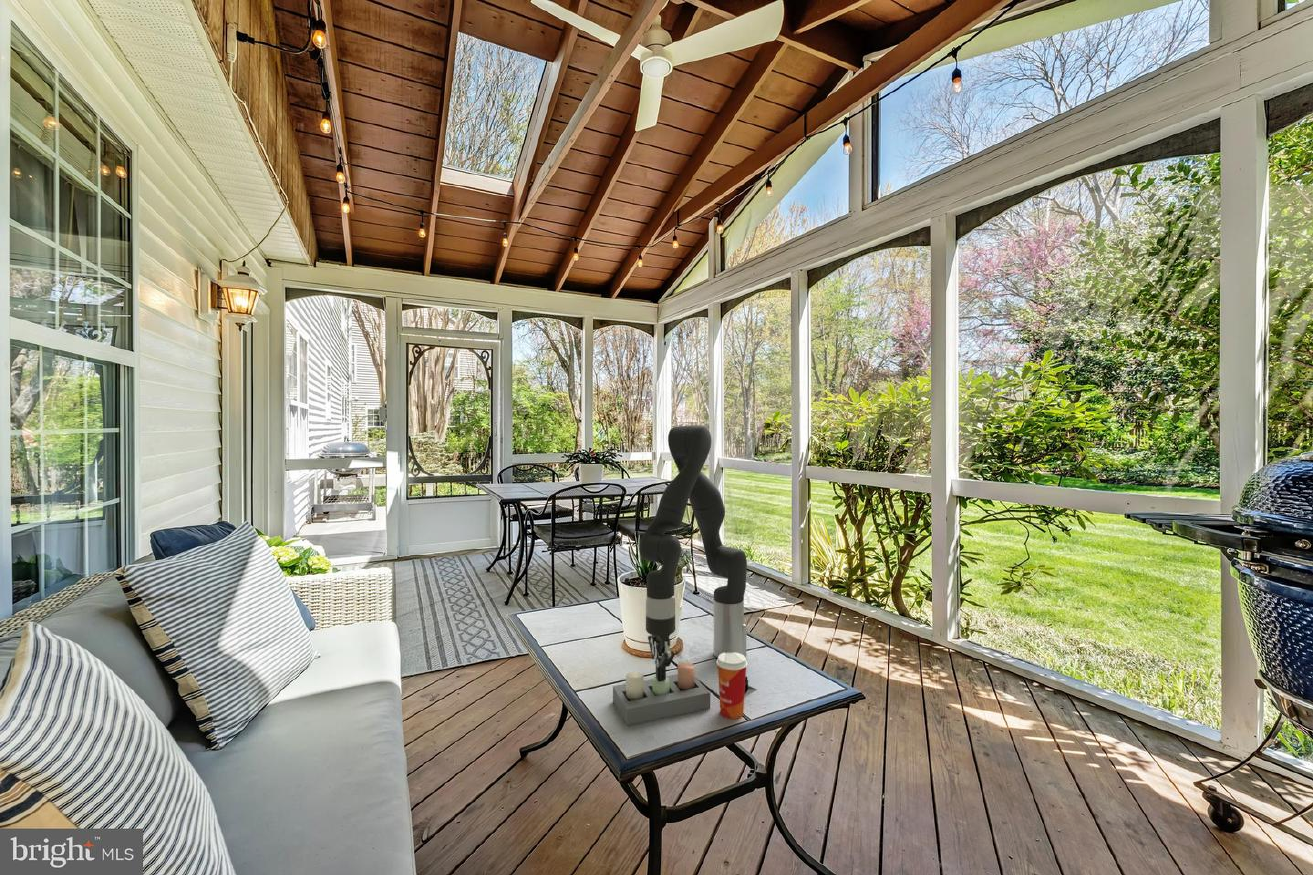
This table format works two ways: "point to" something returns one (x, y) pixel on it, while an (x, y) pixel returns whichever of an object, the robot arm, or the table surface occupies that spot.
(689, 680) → the terracotta button
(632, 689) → the cream button
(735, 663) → the paper cup
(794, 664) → the table surface
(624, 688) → the button board
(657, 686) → the sage button
